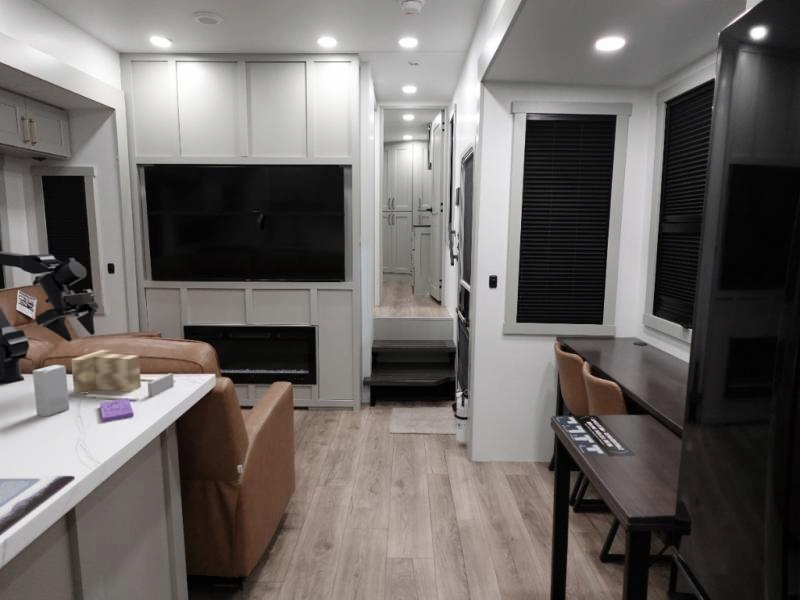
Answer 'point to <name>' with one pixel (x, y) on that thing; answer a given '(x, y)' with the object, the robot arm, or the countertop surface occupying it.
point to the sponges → (116, 410)
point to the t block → (106, 372)
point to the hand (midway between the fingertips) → (82, 337)
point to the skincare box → (51, 390)
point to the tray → (153, 387)
